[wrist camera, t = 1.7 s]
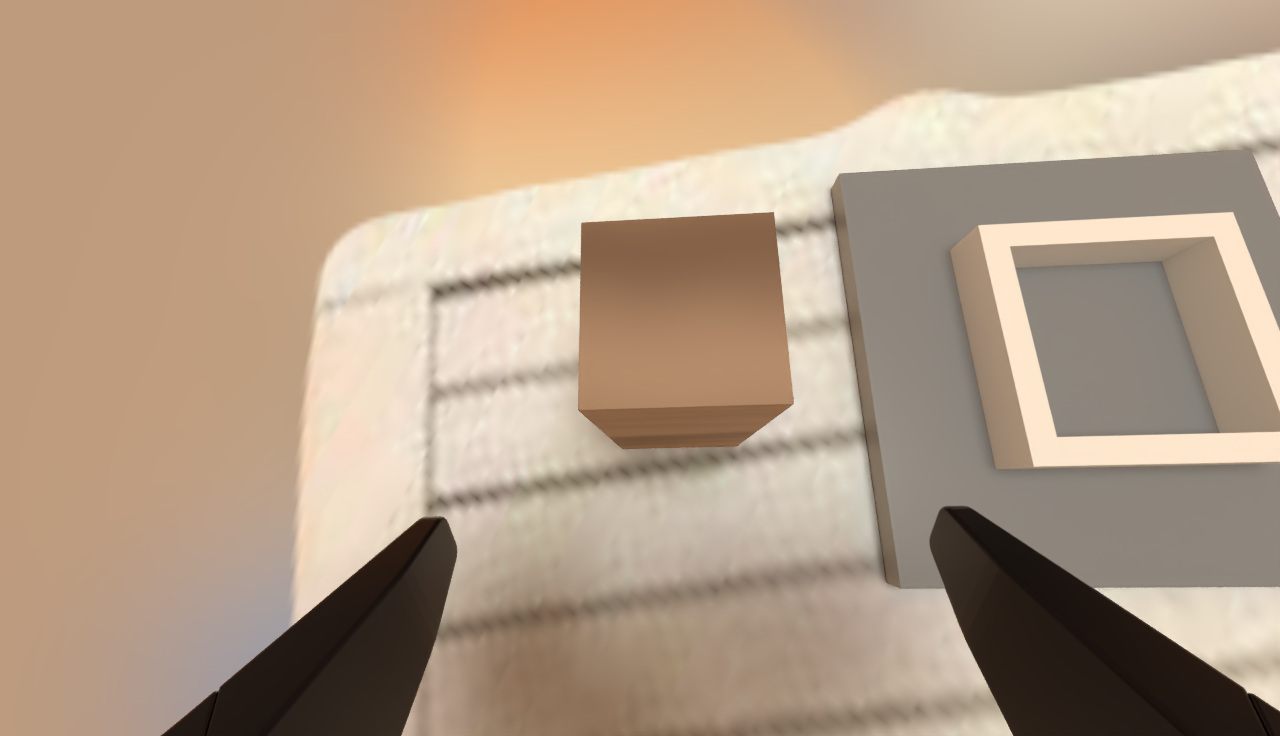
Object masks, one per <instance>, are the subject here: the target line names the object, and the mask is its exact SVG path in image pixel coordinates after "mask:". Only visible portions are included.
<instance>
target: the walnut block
mask: <svg viewBox="0 0 1280 736" xmlns="http://www.w3.org/2000/svg"><path fill="white" fill-rule="evenodd" d="M793 404H794V401H793V392H792V382H791V372H790V363H789V353H788V344H787V334H786V324H785V315H784V305H783V296H782V286H781V276H780V267H779V257H778V248H777V238H776V228H775V219H774V212H770V213H752V214H734V215H715V216H697V217H678V218H660V219H642V220H623V221H605V222H586V223H582V224H581V281H580V337H579V394H578V410H579V411H580V412H581V413H582V414H583V415H584V416H586V417H587V418H588V419H589V420H590V421H591V422H592V423H594V424H595V425H596V426H597V427H598V428H599V429H600V430H602V431H603V432H604V433H605V434H606V435H607V436H608V437H610V438H611V439H612V440H613V441H614V442H615V443H617V444H618V445H619V446H620V447H621V448H622V449H639V448H681V447H723V446H738V445H739V444H740V443H742V442H743V441H744V440H746V439H747V438H749V437H750V436H751V435H753V434H754V433H755V432H757V431H758V430H759V429H761V428H762V427H763V426H765V425H766V424H767V423H769V422H770V421H771V420H773V419H774V418H775V417H777V416H778V415H779V414H781V413H782V412H783V411H785V410H786V409H787V408H789V407H790V406H791V405H793Z"/></svg>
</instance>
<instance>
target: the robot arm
mask: <svg viewBox="0 0 1280 736" xmlns="http://www.w3.org/2000/svg"><path fill="white" fill-rule="evenodd" d="M929 545H930V550H931V553H932V555H933V558H934V561H935V563H936V566H937V568H938V571H939V574H940V576H941V579H942V581H943V584H944V587H945V589H946V592H947V594H948V597H949V600H950V602H951V605H952V607H953V610H954V613H955V615H956V618H957V621H958V623H959V626H960V628H961V630H962V633H963V635H964V638H965V640H966V642H967V644H968V646H969V648H970V650H971V652H972V654H973V656H974V658H975V660H976V662H977V664H978V666H979V668H980V670H981V672H982V674H983V676H984V678H985V680H986V682H987V684H988V686H989V688H990V690H991V692H992V694H993V696H994V698H995V700H996V702H997V704H998V706H999V708H1000V710H1001V712H1002V714H1003V716H1004V718H1005V720H1006V722H1007V724H1008V726H1009V728H1010V730H1011V732H1012V734H1013V736H1280V711H1279V710H1277V709H1276V708H1274V707H1272V706H1271V705H1269V704H1268V703H1266V702H1265V701H1263V700H1262V699H1260V698H1259V697H1257V696H1256V695H1254V694H1252V693H1247V692H1246V690H1245V689H1244V688H1243V687H1242V686H1240V685H1239V684H1237V683H1236V682H1234V681H1233V680H1231V679H1230V678H1228V677H1227V676H1225V675H1224V674H1222V673H1221V672H1219V671H1218V670H1216V669H1215V668H1213V667H1212V666H1210V665H1209V664H1207V663H1206V662H1204V661H1203V660H1201V659H1200V658H1198V657H1196V656H1195V655H1193V654H1192V653H1190V652H1189V651H1187V650H1186V649H1184V648H1183V647H1181V646H1180V645H1178V644H1177V643H1175V642H1174V641H1172V640H1171V639H1169V638H1168V637H1166V636H1165V635H1163V634H1162V633H1160V632H1159V631H1157V630H1156V629H1154V628H1153V627H1151V626H1150V625H1148V624H1147V623H1145V622H1144V621H1142V620H1140V619H1139V618H1137V617H1136V616H1134V615H1133V614H1131V613H1130V612H1128V611H1127V610H1125V609H1124V608H1122V607H1121V606H1119V605H1118V604H1116V603H1115V602H1113V601H1112V600H1110V599H1109V598H1107V597H1106V596H1104V595H1103V594H1101V593H1100V592H1098V591H1097V590H1095V589H1094V588H1092V587H1091V586H1089V585H1087V584H1086V583H1084V582H1083V581H1081V580H1080V579H1078V578H1077V577H1075V576H1074V575H1072V574H1071V573H1069V572H1068V571H1066V570H1065V569H1063V568H1062V567H1060V566H1059V565H1057V564H1056V563H1054V562H1053V561H1051V560H1050V559H1048V558H1047V557H1045V556H1044V555H1042V554H1041V553H1039V552H1038V551H1036V550H1035V549H1033V548H1031V547H1030V546H1028V545H1027V544H1025V543H1024V542H1022V541H1021V540H1019V539H1018V538H1016V537H1015V536H1013V535H1012V534H1010V533H1009V532H1007V531H1006V530H1004V529H1003V528H1001V527H1000V526H998V525H997V524H995V523H994V522H992V521H991V520H989V519H988V518H986V517H985V516H983V515H982V514H980V513H979V512H977V511H975V510H974V509H972V508H970V507H968V506H944V507H942V508H941V509H940V510H939V512H938V515H937V517H936V520H935V523H934V526H933V528H932V531H931V534H930V538H929ZM456 558H457V545H456V542H455V540H454V537H453V534H452V532H451V529H450V527H449V524H448V522H447V520H446V519H445V518H444V517H441V516H439V517H423V518H421V519H419V520H418V521H416V522H415V523H414V524H413V525H412V526H411V527H409V528H408V529H407V530H406V531H405V532H403V533H402V534H401V535H400V536H399V537H397V538H396V539H395V540H394V541H393V542H392V543H390V544H389V545H388V546H387V547H386V548H384V549H383V550H382V551H381V552H380V553H378V554H377V555H376V556H375V557H374V558H373V559H371V560H370V561H369V562H368V563H367V564H365V565H364V566H363V567H362V568H361V569H359V570H358V571H357V572H356V573H355V574H353V575H352V576H351V577H350V578H349V579H348V580H346V581H345V582H344V583H343V584H342V585H340V586H339V587H338V588H337V589H336V590H334V591H333V592H332V593H331V594H330V595H329V596H327V597H326V598H325V599H324V600H323V601H321V602H320V603H319V604H318V605H317V606H315V607H314V608H313V609H312V610H311V611H310V612H308V613H307V614H306V615H305V616H304V617H302V618H301V619H300V620H299V621H298V622H296V623H295V624H294V625H293V626H292V627H290V628H289V629H288V630H287V631H286V632H285V633H283V634H282V635H281V636H280V637H279V638H277V639H276V640H275V641H274V642H273V643H272V644H270V645H269V646H268V647H267V648H266V649H264V650H263V651H262V652H261V653H260V654H258V655H257V656H256V657H255V658H254V659H252V660H251V661H250V662H249V663H248V664H247V665H245V666H244V667H243V668H242V669H241V670H239V671H238V672H237V673H236V674H235V675H233V676H232V677H231V678H230V679H229V680H227V681H226V682H225V683H224V684H223V685H222V686H221V687H220V689H219V691H215V692H213V693H212V694H211V695H209V696H208V697H207V698H206V699H205V700H203V702H201V703H200V704H199V705H198V706H196V707H195V708H194V709H193V710H192V711H190V712H189V713H188V714H187V715H186V716H184V717H183V718H182V719H181V720H180V721H178V722H177V723H176V724H175V725H173V726H172V727H171V728H170V729H169V730H167V731H166V732H165V733H164V734H162V735H161V736H401V735H402V732H403V729H404V727H405V724H406V721H407V718H408V716H409V713H410V710H411V707H412V705H413V702H414V699H415V696H416V693H417V691H418V688H419V685H420V682H421V680H422V677H423V674H424V671H425V669H426V666H427V663H428V660H429V658H430V655H431V652H432V649H433V646H434V643H435V640H436V636H437V633H438V629H439V626H440V622H441V618H442V614H443V610H444V606H445V602H446V598H447V594H448V590H449V586H450V582H451V578H452V574H453V570H454V566H455V562H456Z"/></svg>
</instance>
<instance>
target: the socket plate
mask: <svg viewBox="0 0 1280 736" xmlns="http://www.w3.org/2000/svg"><path fill="white" fill-rule="evenodd" d="M831 193H832V200H833V207H834V214H835V221H836V228H837V235H838V242H839V249H840V257H841V264H842V271H843V278H844V285H845V292H846V299H847V306H848V313H849V320H850V327H851V334H852V341H853V348H854V355H855V362H856V369H857V376H858V383H859V390H860V397H861V404H862V411H863V418H864V425H865V432H866V439H867V446H868V453H869V460H870V467H871V475H872V482H873V489H874V496H875V503H876V510H877V517H878V524H879V531H880V538H881V545H882V552H883V559H884V566H885V573H886V580H887V583H889V584H892V585H894V586H896V587H899V588H945V587H944V584H943V581H942V579H941V576H940V574H939V571H938V568H937V566H936V563H935V561H934V558H933V555H932V553H931V550H930V545H929V538H930V534H931V531H932V528H933V526H934V523H935V520H936V517H937V515H938V512H939V510H940V509H941V508H942V507H944V506H968V507H970V508H972V509H974V510H975V511H977V512H979V513H980V514H982V515H983V516H985V517H986V518H988V519H989V520H991V521H992V522H994V523H995V524H997V525H998V526H1000V527H1001V528H1003V529H1004V530H1006V531H1007V532H1009V533H1010V534H1012V535H1013V536H1015V537H1016V538H1018V539H1019V540H1021V541H1022V542H1024V543H1025V544H1027V545H1028V546H1030V547H1031V548H1033V549H1035V550H1036V551H1038V552H1039V553H1041V554H1042V555H1044V556H1045V557H1047V558H1048V559H1050V560H1051V561H1053V562H1054V563H1056V564H1057V565H1059V566H1060V567H1062V568H1063V569H1065V570H1066V571H1068V572H1069V573H1071V574H1072V575H1074V576H1075V577H1077V578H1078V579H1080V580H1081V581H1083V582H1084V583H1086V584H1087V585H1089V586H1091V587H1092V588H1105V587H1280V217H1279V215H1278V213H1277V210H1276V208H1275V206H1274V203H1273V201H1272V198H1271V196H1270V194H1269V191H1268V189H1267V187H1266V184H1265V182H1264V179H1263V177H1262V175H1261V172H1260V170H1259V168H1258V165H1257V163H1256V160H1255V158H1254V156H1253V153H1252V151H1251V149H1247V150H1230V151H1213V152H1196V153H1179V154H1162V155H1146V156H1129V157H1112V158H1095V159H1078V160H1061V161H1044V162H1027V163H1011V164H994V165H977V166H960V167H943V168H926V169H909V170H892V171H876V172H859V173H842V174H839V175H838V177H837V179H836V181H835V183H834V185H833V187H832V189H831Z"/></svg>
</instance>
